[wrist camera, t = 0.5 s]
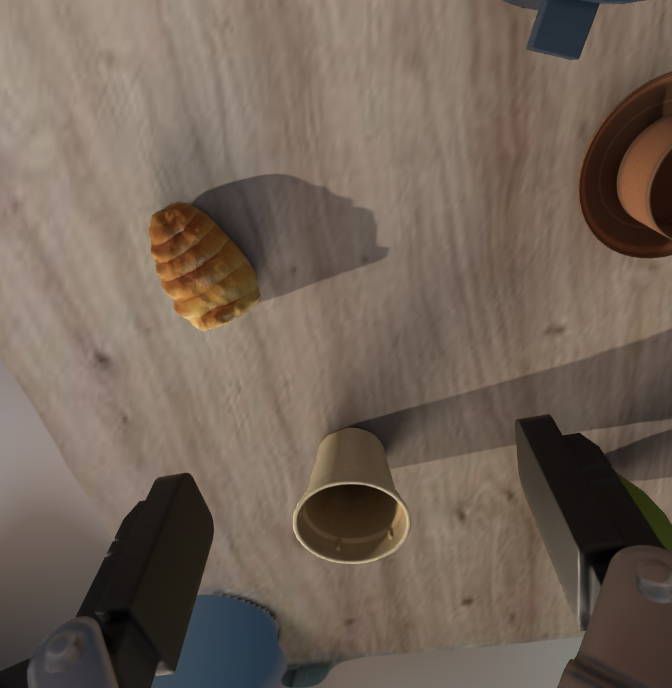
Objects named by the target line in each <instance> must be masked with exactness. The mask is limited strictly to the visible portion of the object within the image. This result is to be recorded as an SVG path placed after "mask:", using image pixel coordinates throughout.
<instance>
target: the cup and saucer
mask: <svg viewBox="0 0 672 688" xmlns="http://www.w3.org/2000/svg"><path fill="white" fill-rule="evenodd" d="M578 199H579V205H580V209H581V213H582V215H583V218H584V220H585V222H586V224H587V226H588V228H589V229H590V231H591V232H592V233H593V235H594V236H595V237H596V238H597V239H598V240H599V241H600V242H601V243H603V244H604V245H605V246H607V247H608V248H610V249H612V250H614V251H616V252H618V253H620V254H623V255H627V256H631V257H637V258H659V257H666V256H670V255H672V72H669V73H667V74H664V75H661V76H659V77H657V78H655V79H653V80H651V81H649V82H647V83H646V84H644V85H642V86H640V87H639V88H637V89H636V90H635V91H633V92H632V93H630V94H629V95H628V96H627V97H626V98H624V99H623V100H622V101H621V102H620V103H619V104H618V105H617V106H616V107H615V108H614V109H613V110H612V111H611V112H610V113H609V114H608V115H607V116H606V118H605V119H604V120H603V122H602V123H601V124H600V126H599V127H598V129H597V130H596V132H595V133H594V135H593V137H592V139H591V141H590V143H589V145H588V147H587V149H586V151H585V154H584V157H583V160H582V163H581V167H580V172H579V178H578Z"/></svg>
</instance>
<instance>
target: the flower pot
mask: <svg viewBox="0 0 672 688" xmlns="http://www.w3.org/2000/svg"><path fill="white" fill-rule="evenodd" d="M410 527H411V517H410V513H409V510H408V508H407V506H406V504H405V502H404V501H403V500H402V499H401V497H400V495H399V493H398V492H397V491H396V489H395V486H394V483H393V480H392V476H391V473H390V469H389V466H388V463H387V459H386V455H385V451H384V447H383V445H382V444H381V442H380V441H379V439H378V438H377V437H376V436H375V435H374V434H372V433H370V432H368V431H366V430H363V429H359V428H344V429H342V430H340V431H337V432H335V433H332V434H329V435H328V436H327V437H325V439H324V440H323V441H322V443H321V444H320V447H319V451H318V455H317V458H316V462H315V466H314V469H313V472H312V476H311V479H310V483H309V486H308V489H307V490H306V492H305V493H304V495H303V497H302V498H301V500H300V501H299V502H298V504H297V506H296V508H295V511H294V515H293V528H294V532H295V534H296V537H297V538H298V540H299V541H300V542H301V544H302V545H303V546H304V547H305V548H306V549H307V550H309V551H310V552H312V553H313V554H314V555H317V556H319V557H321V558H323V559H326V560H328V561H332V562H337V563H338V562H339V563H348V564H360V563H366V562H371V561H375V560H379V559H381V558H383V557H386V556H387V555H389V554H391V553H393V552H394V551H396V550H397V549H398V548H399V547H400V546H401V545H402V544H403V543H404V541H405V540H406V538H407V537H408V534H409V531H410Z"/></svg>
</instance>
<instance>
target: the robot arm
mask: <svg viewBox="0 0 672 688" xmlns="http://www.w3.org/2000/svg"><path fill="white" fill-rule="evenodd" d="M515 431H516V444H517V457H518V469H519V475H520V480H521V484H522V488H523V491H524V494H525V497H526V499H527V502H528V504H529V507H530V509H531V512H532V514H533V516H534V519H535V521H536V524H537V526H538V529H539V531H540V534H541V536H542V539H543V541H544V544H545V546H546V549H547V551H548V554H549V556H550V558H551V561H552V563H553V566H554V568H555V571H556V573H557V576H558V578H559V581H560V583H561V586H562V588H563V591H564V593H565V595H566V598H567V600H568V603H569V605H570V608H571V610H572V613H573V615H574V618H575V620H576V623H577V625H578V628H579V630H580V631H586V632H585V634H584V637H583V640H582V643H581V646H580V648H579V651H578V654H577V656H576V657H575V659H574V660H573V659H571V660H570V661H569V662H568V663H567V665H566V667H565V669H564V671H563V674H562V676H561V679H560V682H559V685H558V687H557V688H672V552H670V551H668V550H667V549H666V548H665V547H664V545H663V544H662V543H661V541H660V540H659V538H658V537H657V535H656V534H655V532H654V531H653V529H652V528H651V526H650V525H649V523H648V521H647V520H646V518H645V517H644V515H643V514H642V512H641V511H640V509H639V508H638V506H637V504H636V503H635V501H634V500H633V498H632V497H631V495H630V494H629V492H628V491H627V489H626V487H625V486H624V484H622V483H621V480H620V478H619V477H618V475H617V474H616V472H615V471H614V469H612V468H611V464H610V463H609V461H608V460H607V458H606V457H605V455H604V454H603V452H602V450H601V449H600V447H599V446H597V445H596V444H594V443H593V442H592V441H590V440H589V439H587V438H586V437H584V436H583V435H582V434H580V433H575V434H569V435H563V436H562V434H561V432H560V430H559V429H558V427H557V425H556V423H555V422H554V420H553V418H552V417H551V416H550V415H549V414H547V415H541V416H535V417H529V418H523V419H517V420H516V421H515ZM213 535H214V525H213V519H212V515H211V513H210V511H209V509H208V507H207V505H206V503H205V501H204V499H203V497H202V495H201V493H200V491H199V489H198V487H197V485H196V483H195V481H194V479H193V477H192V476H191V475H190V474H189V473H182V474H176V475H170V476H164V477H159V478H157V479H156V480H155V482H154V483H153V486H152V488H151V490H150V492H149V494H148V496H147V499H146V500H145V501H139V503H138V504H137V505H136V506H135V507H134V508H133V509H132V510H131V512H130V513H129V514H128V515H127V516H126V517H125V518H124V520H123V522H122V524H121V526H120V528H119V530H118V532H117V534H116V536H115V541H114V542H112V544H111V547H110V548H109V551H108V552H107V557H105V558H104V560H103V563H102V565H101V567H100V569H99V571H98V573H97V575H96V577H95V579H94V581H93V583H92V585H91V587H90V589H89V591H88V593H87V595H86V597H85V599H84V601H83V603H82V605H81V607H80V609H79V611H78V613H77V615H76V617H75V618H73V619H70V620H68V621H66V622H64V623H62V624H61V625H59V626H58V627H56V628H55V629H54V630H52V631H51V632H50V633H49V634H48V635H47V636H46V637H45V638H44V639H43V640H42V641H41V643H40V644H39V645H38V646H37V648H36V650H35V651H34V653H33V655H32V657H31V658H30V659H27V660H25V661H23V662H20V663H18V664H16V665H14V666H11V667H9V668H7V669H4V670H2V671H0V688H151V685H152V682H153V679H154V676H155V675H163V674H173V673H175V670H176V667H177V663H178V660H179V656H180V652H181V649H182V646H183V642H184V638H185V635H186V632H187V628H188V624H189V621H190V618H191V614H192V611H193V607H194V604H195V600H196V597H197V593H198V590H199V586H200V583H201V579H202V576H203V572H204V568H205V565H206V561H207V558H208V554H209V551H210V547H211V544H212V540H213Z"/></svg>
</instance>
